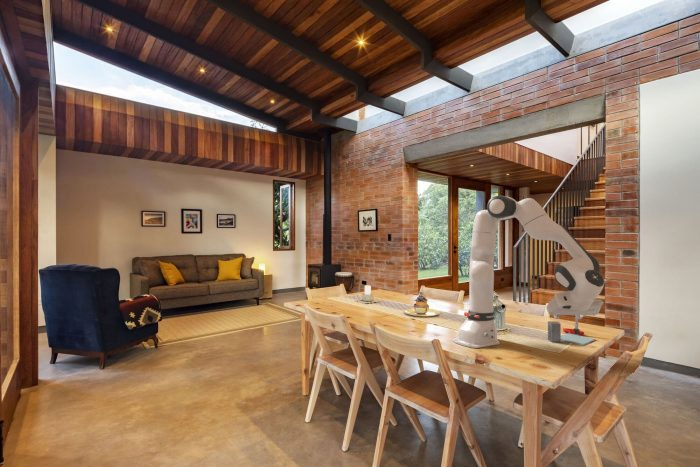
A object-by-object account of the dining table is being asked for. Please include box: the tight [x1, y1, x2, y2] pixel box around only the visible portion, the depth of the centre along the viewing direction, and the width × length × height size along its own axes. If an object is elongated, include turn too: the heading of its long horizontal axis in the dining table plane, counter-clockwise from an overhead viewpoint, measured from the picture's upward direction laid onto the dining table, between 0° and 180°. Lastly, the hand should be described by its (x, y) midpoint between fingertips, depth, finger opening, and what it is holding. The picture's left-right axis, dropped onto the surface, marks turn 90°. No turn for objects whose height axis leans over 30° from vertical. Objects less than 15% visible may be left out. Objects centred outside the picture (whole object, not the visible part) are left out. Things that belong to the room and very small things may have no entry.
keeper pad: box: [561, 332, 596, 346], centre depth 168 cm, size 13×12×1 cm
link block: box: [547, 320, 562, 343], centre depth 166 cm, size 4×4×9 cm
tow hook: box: [562, 315, 585, 335], centre depth 180 cm, size 8×13×9 cm
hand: (566, 317), depth 155 cm, fingers open, 8 cm apart
